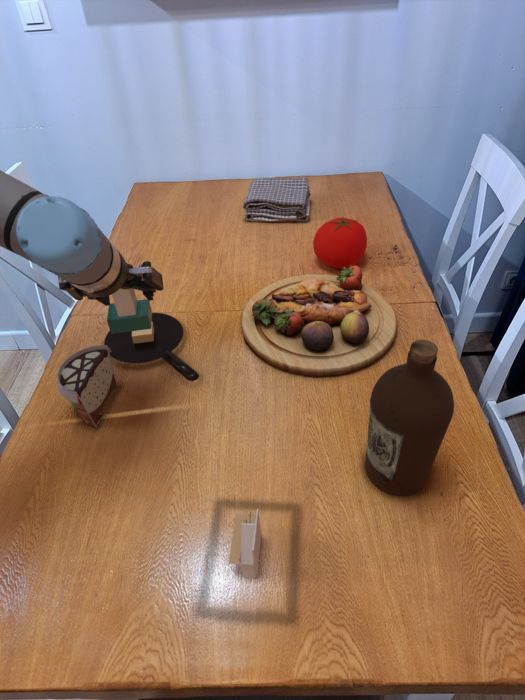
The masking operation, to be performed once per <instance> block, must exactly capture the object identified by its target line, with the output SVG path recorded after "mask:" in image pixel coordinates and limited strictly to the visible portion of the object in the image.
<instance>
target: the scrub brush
mask: <svg viewBox="0 0 525 700" xmlns="http://www.w3.org/2000/svg"><path fill="white" fill-rule="evenodd" d="M111 296H112V300H113V302H110V304H109V306H108V311H107V316H106V322H107V325H108V329H109V331H110V332H111V334H114V333H122V332H130V331H138V330H146V329H151V324H152V313H153V310H152V307H151V306H152V305H151V301H149V300H148V299H147V298H144V299H138V298H137V295H136V291H135V289H132V288H130V289H125V290H124V289H119V290H118V291H116V292H115V293H113V294H111Z"/></svg>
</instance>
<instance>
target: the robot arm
mask: <svg viewBox="0 0 525 700" xmlns="http://www.w3.org/2000/svg"><path fill="white" fill-rule="evenodd" d="M0 247H1V248H3V249H5V250H7V251H8V252H9V251H10V252H11V253H13V254H14V255H15V254H16V255H18V256H20V257H21V258H23V259H26V260H27V261H30V262H31V263H33V264H35V265H37V266H39V267H40V268H42V269H44V270H45V271H48V272H50V273H51V274H54V275H55V276H57V281H58V282H57V283H58V289H59V290H61V291H65V292H66V293H68V294H69V296H70V297H72V298H73V299H74V300H75V301H82V300H84V298H87V300H94V301H98V302H99V303H100V304H103V305H104V306H106V307H109V304H111V300H110V299H111V298H110V296H112V294H113V293H115V292H116V291H118V290H119V289H124V290H125V289H130V288H132V289H134V290H136V291H141V292H142V295H143V296H144V297H145V299H148V300H149V302H151V301H154V297H155V293H157V291H159V292H161V291H163V290H164V288H165V287H164V279H163V274H162V273H161V272H159V271H158V270H157V269H156V268H154V267H153V266H152V261H149V260H145V261H143V262H142V263H140V264H138V267H134V266H133V265H132V264H131V263H127V262H126V259H125V257H124V256H123V255H122V253H121V252H120V251H119V250H118V248H117V247H115V245H114V243H113V242H112V241H111V240H110V239H109V238H108V237H107V236H106V235H105V234H104V233H103V231H102V230H101V229H100V227H99V226H98V224H97V223H96V221H95V220H94V218H92V217H91V216H90V214H89V212H87V211H86V210H85V209H83V208H82V207H80V206H79V205H77V203H75V202H73V201H72V200H70V199H67V198H65V197H62V196H52V195H51V196H50V195H49V194H46V193H43V192H41V191H39V190H38V189H36V188H34V187H32V186H30V185H28V184H26V183H25V182H23V181H21V180H19V179H17V178H15V177H14V176H12V175H10V174H8V173H6V172H4V171H3V170H1V169H0Z"/></svg>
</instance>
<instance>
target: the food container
mask: <svg viewBox="0 0 525 700" xmlns="http://www.w3.org/2000/svg"><path fill="white" fill-rule="evenodd" d="M110 353H111V350H110V348H109V347H108V346H107V345H104V344H99V345H98V344H97V345H92V346H88V347H85V348H82V349H79V350H78V351H76V352H74V353H72V354H71V355H69V356H68V357H66V359H65V360H64V361H63V362H62V363H61V365H60V366H59V368H58V370H57V375H56V380H57V381H56V382H57V389H58V392H59V394H60V395H61V397H62V398H64V399H65V400H67V401H69V402H70V404H71V405H72V407H73V409H74V410H75V412H76V414H77V416H78V417H79V418H80V420H81V422H83V423H84V425H86V426H88V427H91V428H95V429H96V428H97V427H98V425H99V423H100V421H101V420H102V418H103V417H104V414H105V413H104V414H103V413H102V414H100V413H101V411H102V409H103V407H104V406H105V404H106V403H107V401H108V399H109V397H110V396H111V394H112V393H113V391H114V389H115V387H116V385H117V384H118V380H117V377H116V373H115V369H114V365H113V361H112V357H111V356H110Z"/></svg>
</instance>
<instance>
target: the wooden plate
mask: <svg viewBox="0 0 525 700" xmlns="http://www.w3.org/2000/svg"><path fill="white" fill-rule="evenodd" d="M339 270H340V273H339V274H334V275H333V274H323V273H311V274H300V275H294V276H290V277H289V276H288V277H286V278H282V279H279V280H276V281H274V282H271V283H270V284H268V285H266V286H264V287H262V288H261V289H260V290H258V291H257V292H255V293H254V294H253V295H252V296H251V298H249V300H248V301H247V302H246V305H245V306H244V307H243V308H244V309H243V310H242V312H241V318H240V328H241V333H242V336H243V339H244V341H245V343H246V344H247V345H248V346H249V348H250V349H251V350H252V351H253V352H254V353H255V354H256V355H257V356H258V357H259V358H261V359H262V360H264V361H265V362H267V363H268V364H270V365H272V366H273V367H276V368H278V369H281V370H284V371H287V372H291V373H294V374H300V375H307V376H320V377H321V376H322V377H323V376H335V375H342V374H347V373H351V372H354V371H357V370H359V369H361V368H365V367H366V366H369V365H371V364H372V363H374V362H375V361H377V360H379V358H380V357H382V356H383V355H384V354H386V352H387V351H388V350H389V349H390V348H391V346H392V345H393V344H394V342H395V339H396V335H397V332H398V331H397V330H398V320H397V315H396V313H395V311H394V308H393V306H392V305H391V303H390V302H389V301H388V299H387V298H385V296H383V294H381V293H380V292H378V290H376V289H375V288H373V287H371V286H369V285H368V284H365V283H363V282H362V281H363V275H364V274H363V270H362V268H361V267H360V266H358V265H354V266H351V265H350V267H349V268H346V267H345V266H344V268H342V269H339Z"/></svg>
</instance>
